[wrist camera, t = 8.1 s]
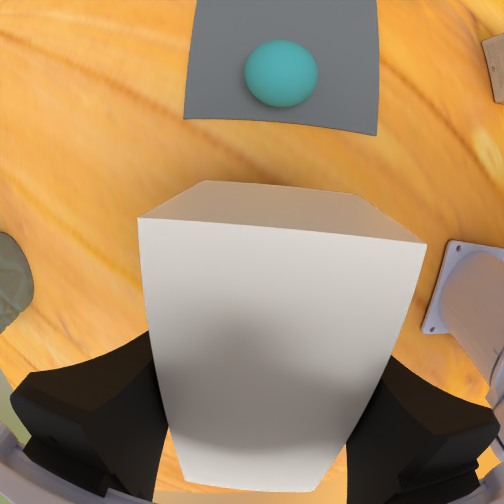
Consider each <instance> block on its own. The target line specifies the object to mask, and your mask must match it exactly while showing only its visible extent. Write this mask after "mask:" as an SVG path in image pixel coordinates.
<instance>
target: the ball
mask: <svg viewBox="0 0 504 504" xmlns="http://www.w3.org/2000/svg"><path fill="white" fill-rule="evenodd" d="M244 77H245V82H246V84H247V87H248V88H249V90H250V92H251V93H252V94H253V95H254V96H255V97H256V98H257V99H258V100H260V101H261V102H263V103H265V104H268V105H270V106H274V107H291V106H294V105H297V104H299V103H301V102H303V101H305V100H306V99H307V98H308V97H309V96H310V95H311V94H312V93H313V91H314V89H315V87H316V85H317V82H318V68H317V64H316V62H315V60H314V58H313V56H312V55H311V54H310V53H309V52H308V51H307V50H306V49H305V48H304V47H302V46H301V45H299V44H297V43H294V42H291V41H287V40H273V41H269V42H266V43H264V44H262V45H260V46H258V47H257V48H256V49H255V50H254V51H252V53H251V54H250V55H249V57H248V59H247V61H246V64H245V68H244Z"/></svg>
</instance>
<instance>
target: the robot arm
mask: <svg viewBox="0 0 504 504" xmlns="http://www.w3.org/2000/svg"><path fill="white" fill-rule="evenodd" d="M458 245H459V247H458V249H457V250H456V248H457V246H458ZM431 328H432V329H431ZM421 331H422V333H423V334H447V333H451V334H452V336H453V337H454V338H455V340H456V341H457V342H458V343H459V345H460V346H461V347H462V349H463V350H464V351H465V353H466V354H467V355H468V357H469V358H470V359H471V361H472V362H473V364H474V365H475V366H476V368H477V369H478V371H479V372H480V373H481V375H482V376H483V378H484V379H485V381H486V382H487V384H488V385H489V386H490V390H489V392H488V394H487V395H486V397H485V398H486V400H487V401H488V403H489V405H490V406H491V408H488V407H484V406H481V405H477V404H474V403H471V402H468V401H465V400H463V399H460V398H458V397H455V396H453V395H451V394H449V393H447V392H445V391H443V390H441V389H439V388H437V387H435V386H433V385H432V384H430V383H428V382H427V381H425V380H423V379H422V378H421V377H419V376H418V375H416V374H415V373H413V372H412V371H410V370H409V369H408V368H406V367H405V366H404V365H403V364H401V363H400V362H399V361H398V360H396V359H395V358H394V357H393V356H392V355H390V358H389V360H388V362H387V365H386V367H385V369H384V371H383V373H382V376H381V378H380V380H379V382H378V384H377V386H376V388H375V390H374V392H373V394H372V396H371V398H370V400H369V402H368V404H367V406H366V408H365V410H364V412H363V413H362V415H361V417H360V419H359V421H358V422H357V424H356V426H355V428H354V429H353V431H352V433H351V435H350V436H349V438H348V440H347V441H346V451H347V504H504V248H499V247H493V246H487V245H481V244H475V243H469V242H462V241H456V240H451V241H449V243H448V244H447V248H446V252H445V255H444V259H443V263H442V267H441V270H440V274H439V277H438V281H437V284H436V287H435V290H434V293H433V296H432V299H431V302H430V305H429V308H428V311H427V314H426V316H425V319H424V322H423V325H422V327H421ZM10 401H11V405H12V407H13V409H14V411H15V413H16V414H17V416H18V417H19V419H20V420H21V422H22V423H23V425H24V426H25V427H26V429H27V430H28V431H29V433H30V434H31V435H32V437H31V438H30V440H29V441H28V443H27V444H26V445H24V444H23V443H21V442H20V441H18V438H17V437H16V436H15V434H14V433H13V432H12V431H11V430H10V429H9V428H8V427H7V426H6V425H5V424H4V423H2V422H1V421H0V494H1V495H3V496H4V497H5V498H6V499H8V500H9V501H10V502H11V503H13V504H156V503H153V502H152V499H153V493H154V487H155V482H156V476H157V472H158V467H159V462H160V458H161V454H162V449H163V445H164V441H165V438H166V434H167V430H168V427H169V425H168V421H167V417H166V413H165V409H164V405H163V401H162V397H161V392H160V388H159V383H158V378H157V374H156V369H155V363H154V358H153V353H152V347H151V341H150V335H149V330H148V331H147V332H145V333H143V334H142V335H140V336H139V337H137V338H135V339H134V340H132V341H130V342H129V343H127V344H125V345H123V346H121V347H119V348H117V349H115V350H113V351H111V352H109V353H107V354H104V355H102V356H99V357H96V358H94V359H91V360H88V361H85V362H82V363H79V364H75V365H72V366H68V367H63V368H59V369H53V370H46V371H39V372H30V373H29V374H28V375H27V377H26V378H25V379H24V380H23V381H22V382H21V384H20V385H19V386H18V387H17V388H16V389H15V391H14V392H13V393H12V394H11V396H10ZM489 445H490V446H491V448H492V451H493V452H494V454H495V455H496V456H497V458H498V459H499V460H500V461H502V463H500V464H499V465H497V466H496V467H494V468H493V469H492V470H491V471H489V473H487V475H485V477H484V478H482V479H479V480H478V477H477V475H476V472H475V470H476V469H477V468H478V467H479V464H478V462H477V458H478V457H479V456H480V455H481V454H482V453H483V452H484V451H485V450H486V449H487V448H488V446H489Z"/></svg>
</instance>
